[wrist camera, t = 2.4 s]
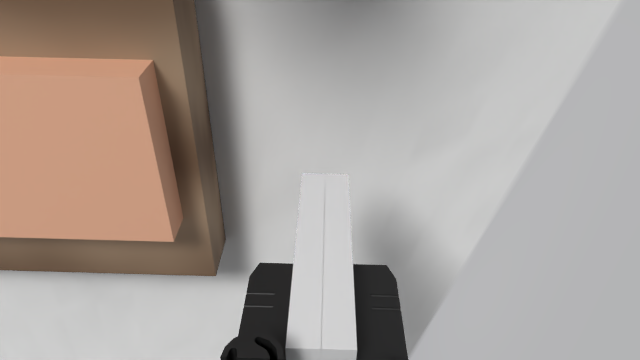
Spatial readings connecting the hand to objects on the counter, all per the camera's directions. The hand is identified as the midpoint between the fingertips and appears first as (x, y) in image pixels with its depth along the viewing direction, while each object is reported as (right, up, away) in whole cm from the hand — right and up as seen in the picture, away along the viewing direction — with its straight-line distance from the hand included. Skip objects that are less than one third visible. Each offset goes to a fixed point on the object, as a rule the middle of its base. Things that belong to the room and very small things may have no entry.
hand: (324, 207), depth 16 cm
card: (-11, +2, +2) cm, 11 cm away
